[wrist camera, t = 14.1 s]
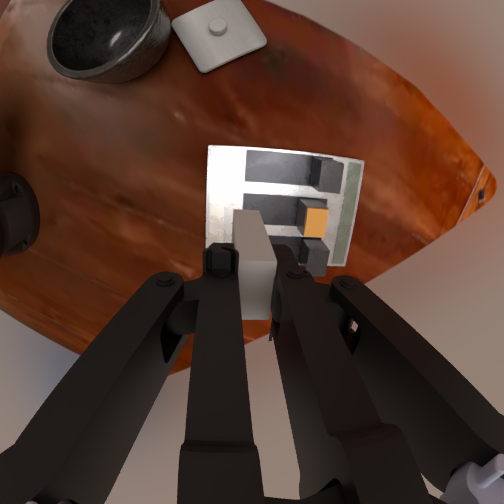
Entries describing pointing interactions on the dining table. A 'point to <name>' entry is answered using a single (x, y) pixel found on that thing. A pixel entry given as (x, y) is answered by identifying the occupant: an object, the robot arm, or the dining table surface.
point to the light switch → (218, 33)
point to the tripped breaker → (312, 218)
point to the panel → (284, 198)
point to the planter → (108, 39)
